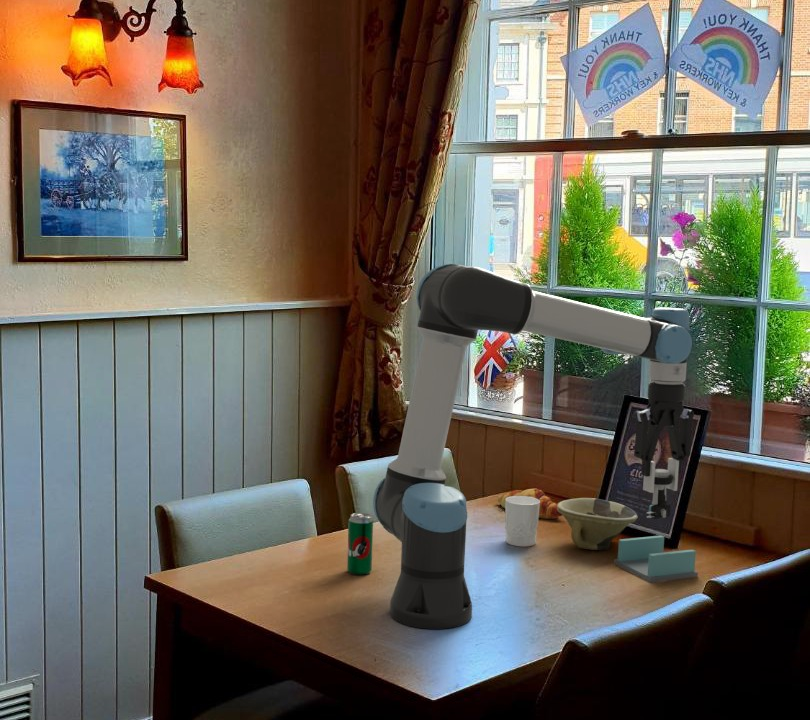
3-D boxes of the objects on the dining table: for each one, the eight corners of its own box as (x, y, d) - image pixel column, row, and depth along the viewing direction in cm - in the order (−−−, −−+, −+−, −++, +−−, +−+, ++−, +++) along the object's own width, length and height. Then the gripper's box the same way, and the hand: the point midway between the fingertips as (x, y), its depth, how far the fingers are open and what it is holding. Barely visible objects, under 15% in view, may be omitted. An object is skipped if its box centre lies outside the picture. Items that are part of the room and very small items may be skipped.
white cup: (543, 541, 245) (545, 499, 244) (528, 549, 238) (530, 506, 237) (513, 535, 249) (515, 494, 248) (497, 543, 242) (499, 500, 241)
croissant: (490, 519, 276) (481, 494, 273) (512, 496, 282) (504, 472, 279) (556, 535, 261) (548, 509, 258) (578, 510, 267) (570, 485, 264)
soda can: (376, 572, 219) (378, 515, 217) (359, 577, 215) (360, 520, 214) (359, 566, 222) (361, 510, 221) (341, 571, 218) (343, 515, 217)
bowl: (602, 564, 230) (605, 521, 228) (540, 543, 243) (542, 503, 242) (651, 550, 241) (653, 509, 240) (588, 531, 255) (591, 492, 253)
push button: (657, 522, 221) (659, 475, 219) (636, 517, 225) (638, 471, 224) (676, 517, 225) (678, 471, 224) (656, 512, 229) (657, 466, 228)
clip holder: (650, 582, 218) (651, 556, 217) (614, 563, 230) (615, 539, 229) (697, 576, 223) (699, 551, 222) (659, 558, 235) (661, 534, 234)
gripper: (641, 385, 215) (634, 497, 217) (714, 383, 222) (706, 491, 224) (619, 380, 221) (613, 488, 224) (691, 378, 229) (684, 483, 231)
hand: (660, 489), depth 224 cm, fingers closed on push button, 5 cm apart
